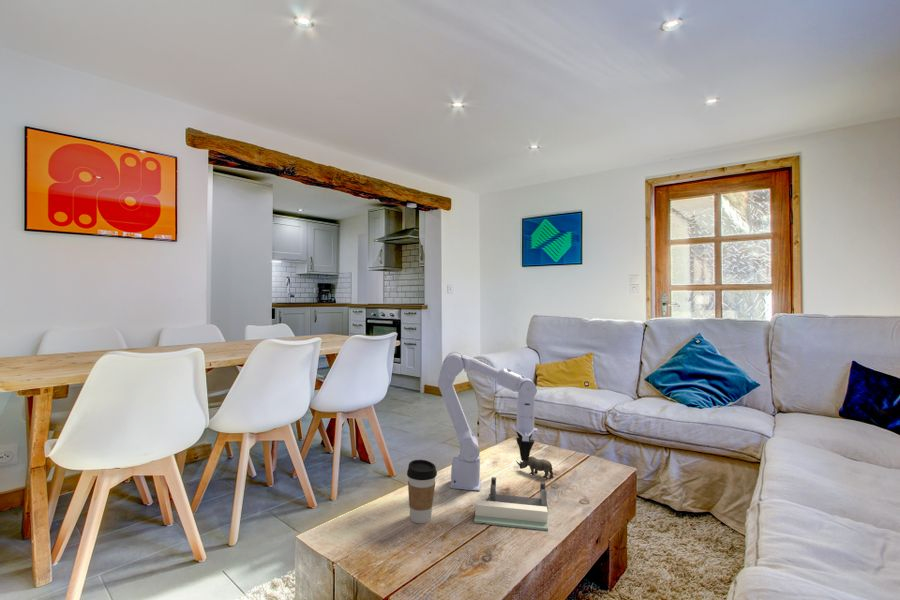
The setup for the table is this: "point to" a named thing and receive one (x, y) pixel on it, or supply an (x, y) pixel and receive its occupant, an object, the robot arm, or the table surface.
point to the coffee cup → (421, 489)
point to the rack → (516, 499)
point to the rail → (511, 511)
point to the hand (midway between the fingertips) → (524, 456)
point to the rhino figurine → (537, 466)
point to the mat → (511, 522)
